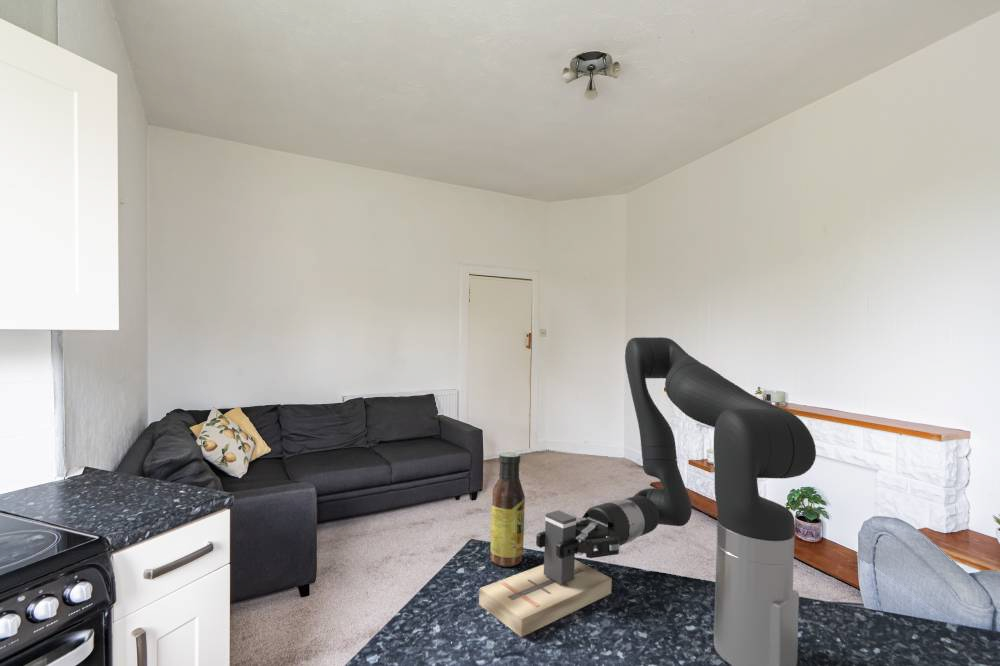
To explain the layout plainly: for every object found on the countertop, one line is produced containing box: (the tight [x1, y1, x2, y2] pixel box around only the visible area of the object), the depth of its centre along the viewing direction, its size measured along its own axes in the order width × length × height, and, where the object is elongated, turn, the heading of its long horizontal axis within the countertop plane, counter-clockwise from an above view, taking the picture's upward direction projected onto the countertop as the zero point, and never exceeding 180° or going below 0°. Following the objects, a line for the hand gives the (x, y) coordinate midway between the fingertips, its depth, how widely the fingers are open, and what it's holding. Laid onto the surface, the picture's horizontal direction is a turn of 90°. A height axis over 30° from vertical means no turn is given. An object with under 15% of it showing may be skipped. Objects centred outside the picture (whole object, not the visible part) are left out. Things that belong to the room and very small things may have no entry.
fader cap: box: [543, 510, 577, 584], centre depth 77 cm, size 4×3×10 cm
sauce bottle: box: [489, 451, 526, 568], centre depth 88 cm, size 7×6×20 cm
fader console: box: [478, 559, 613, 638], centre depth 75 cm, size 10×20×3 cm, turn 129°
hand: (548, 546), depth 75 cm, fingers closed on fader cap, 4 cm apart
